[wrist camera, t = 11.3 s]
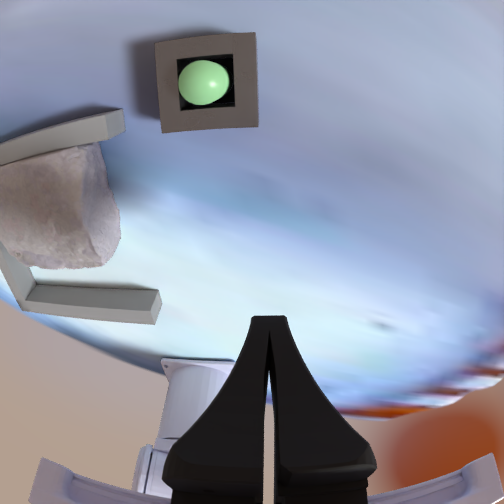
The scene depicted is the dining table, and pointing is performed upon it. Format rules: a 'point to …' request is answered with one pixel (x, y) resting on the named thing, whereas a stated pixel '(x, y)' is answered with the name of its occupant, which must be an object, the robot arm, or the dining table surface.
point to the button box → (217, 114)
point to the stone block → (59, 209)
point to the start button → (204, 82)
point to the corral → (62, 297)
